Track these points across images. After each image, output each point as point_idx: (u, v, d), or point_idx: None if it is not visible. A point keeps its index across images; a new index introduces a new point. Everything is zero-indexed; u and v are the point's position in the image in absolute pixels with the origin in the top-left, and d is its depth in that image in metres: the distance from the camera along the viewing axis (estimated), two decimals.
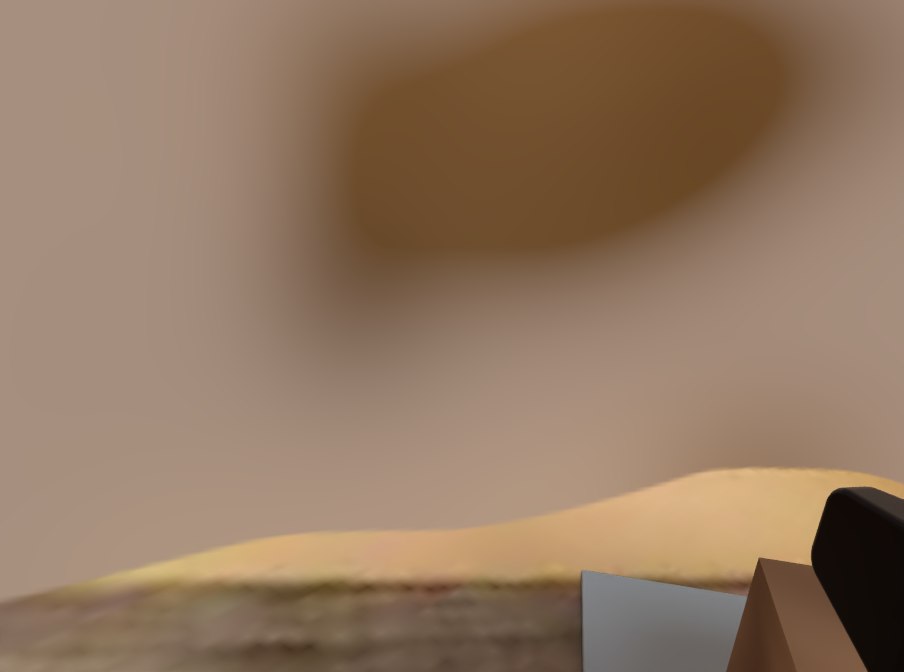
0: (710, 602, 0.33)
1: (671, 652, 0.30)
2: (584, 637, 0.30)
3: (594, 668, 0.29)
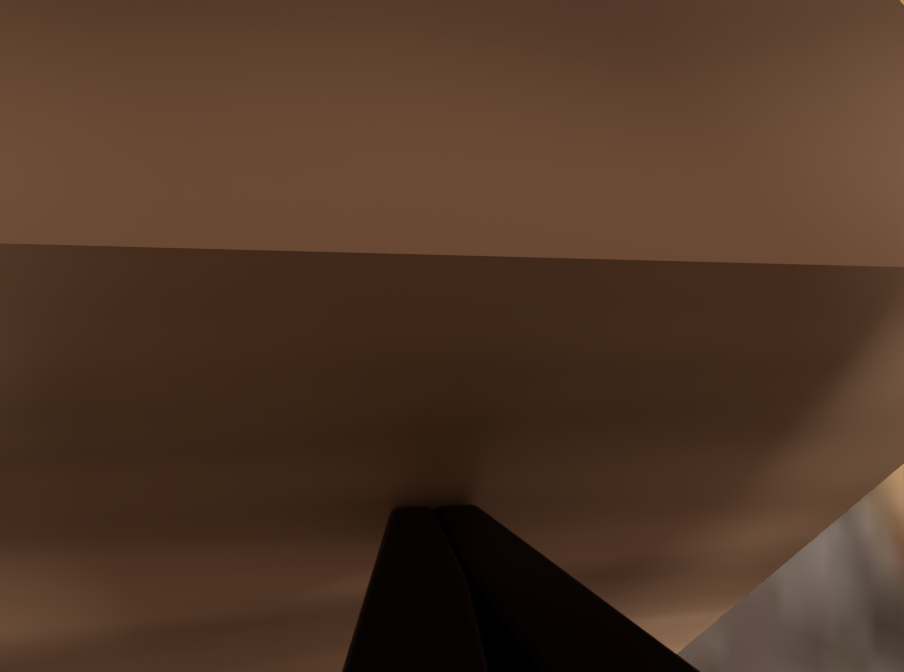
0: None
1: None
2: None
3: None
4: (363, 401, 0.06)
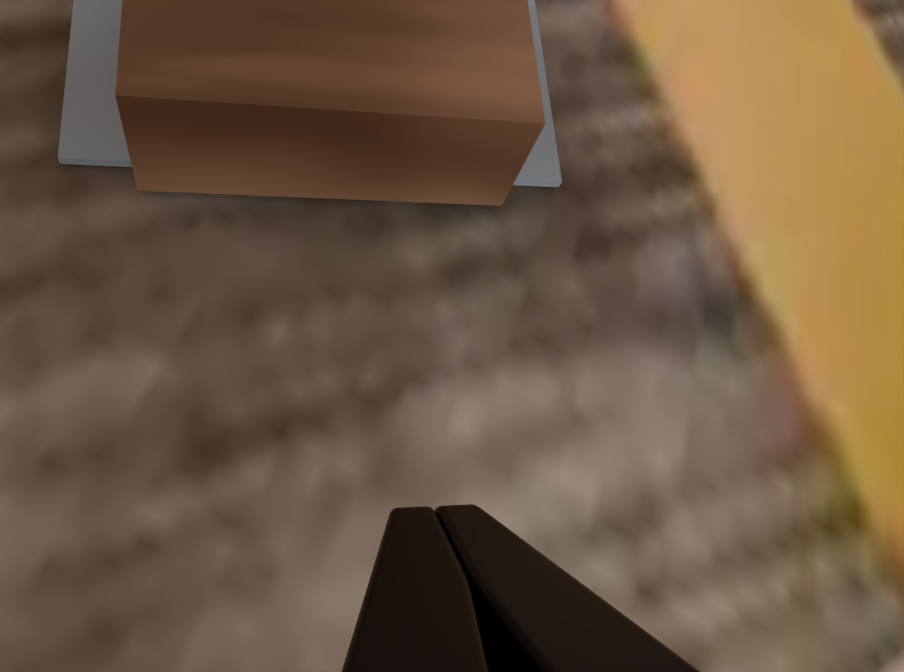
0: None
1: None
2: None
3: None
4: None
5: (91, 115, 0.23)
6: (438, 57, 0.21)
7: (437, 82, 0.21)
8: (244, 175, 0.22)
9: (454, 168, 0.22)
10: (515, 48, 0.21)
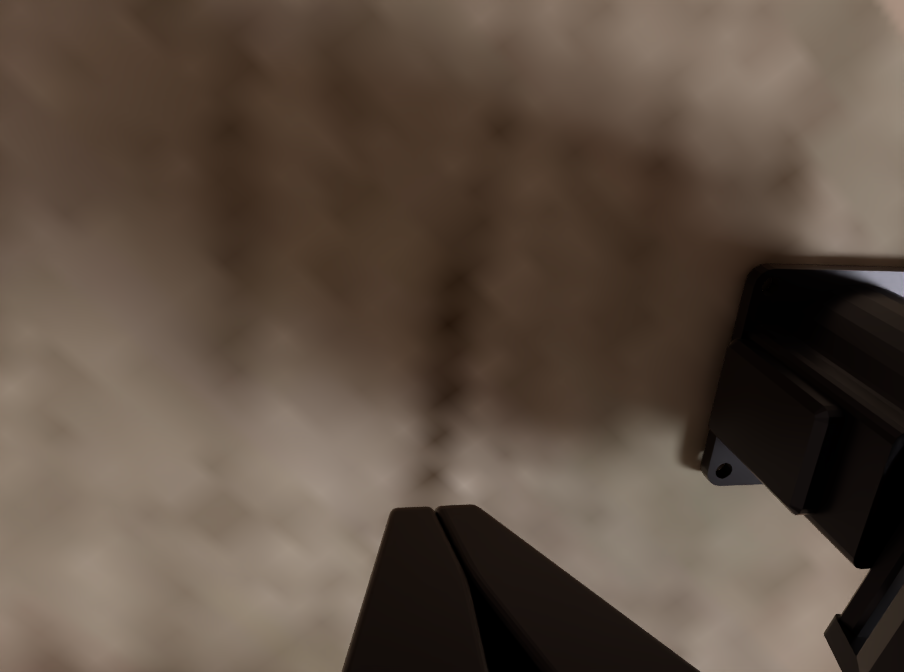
0: None
1: None
2: None
3: None
4: None
5: None
6: None
7: None
8: None
9: None
10: None
